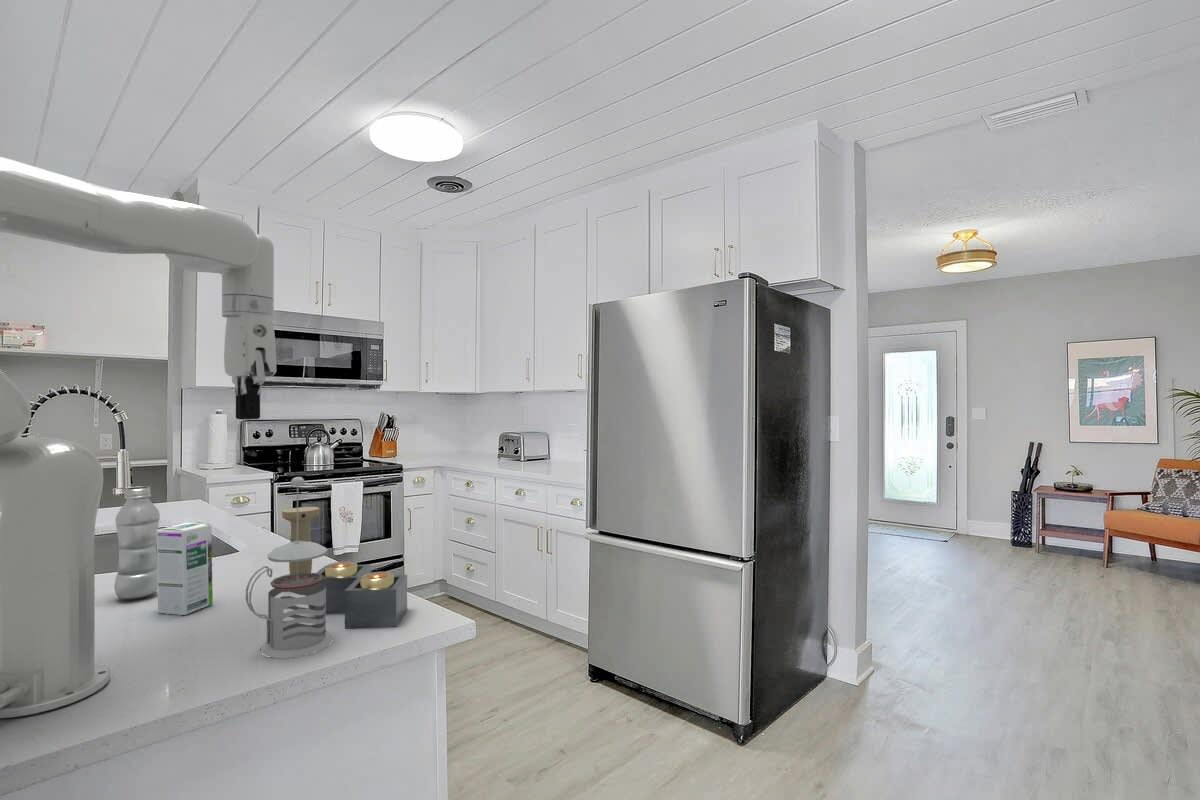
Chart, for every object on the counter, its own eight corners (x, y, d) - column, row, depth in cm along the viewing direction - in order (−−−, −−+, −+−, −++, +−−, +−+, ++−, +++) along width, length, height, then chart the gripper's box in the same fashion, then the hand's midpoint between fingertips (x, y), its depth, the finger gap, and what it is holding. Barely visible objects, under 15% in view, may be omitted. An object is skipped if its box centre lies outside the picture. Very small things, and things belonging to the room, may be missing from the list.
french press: (343, 645, 91) (344, 477, 91) (257, 669, 83) (257, 484, 83) (319, 626, 98) (319, 471, 98) (237, 647, 90) (237, 477, 90)
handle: (279, 587, 118) (279, 509, 118) (315, 581, 122) (315, 505, 122) (284, 593, 114) (284, 513, 114) (321, 587, 118) (321, 509, 118)
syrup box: (185, 616, 102) (185, 529, 102) (155, 613, 104) (155, 528, 103) (213, 605, 108) (213, 522, 108) (184, 602, 109) (185, 521, 109)
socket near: (396, 626, 98) (396, 589, 98) (344, 628, 98) (344, 590, 98) (407, 609, 106) (407, 574, 106) (359, 610, 106) (359, 575, 106)
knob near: (389, 614, 100) (389, 578, 100) (356, 615, 99) (356, 579, 99) (396, 603, 105) (397, 569, 105) (365, 604, 104) (365, 570, 104)
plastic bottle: (105, 601, 109) (105, 489, 109) (143, 590, 116) (143, 484, 116) (131, 605, 107) (131, 491, 107) (168, 593, 114) (168, 486, 114)
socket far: (357, 612, 105) (357, 577, 105) (309, 613, 104) (309, 578, 104) (370, 597, 113) (370, 564, 113) (325, 598, 112) (325, 565, 112)
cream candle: (351, 601, 106) (351, 567, 106) (320, 601, 105) (320, 568, 105) (360, 591, 111) (360, 559, 111) (330, 592, 111) (331, 560, 111)
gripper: (291, 308, 101) (290, 419, 101) (254, 315, 110) (253, 417, 110) (241, 302, 95) (241, 421, 95) (206, 310, 104) (206, 418, 105)
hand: (247, 418), depth 103 cm, fingers closed
